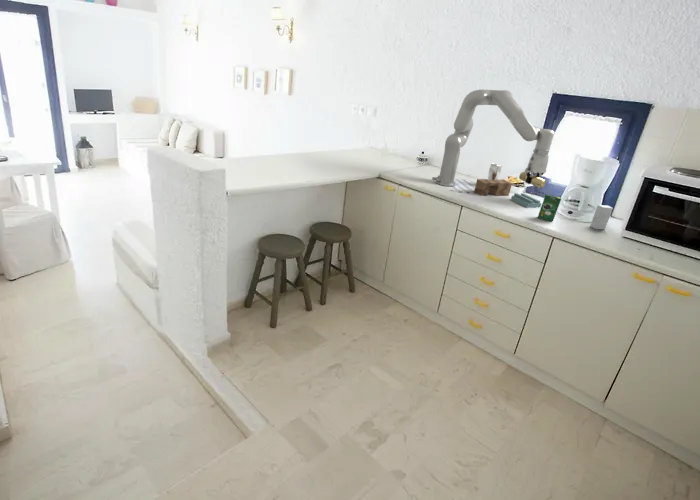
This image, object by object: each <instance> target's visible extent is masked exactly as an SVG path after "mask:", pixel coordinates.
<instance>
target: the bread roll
mask: <svg viewBox="0 0 700 500" xmlns="http://www.w3.org/2000/svg"><path fill="white" fill-rule="evenodd" d="M518 179H519V180H520V181H523V182H524V183H526V179H527V174H526V172H525V171H522V172H520V174H519V176H518ZM546 181H547V180H545V179H543V178H542V177H540V178H539V177H536V175H534V174H533V175H532V179H531V183H530V184H529V185H532V186H534V187H537V188H539V189H543V188H544V187H545V186H546V183H547V182H546Z"/></svg>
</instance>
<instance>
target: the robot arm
mask: <svg viewBox="0 0 700 500" xmlns="http://www.w3.org/2000/svg"><path fill="white" fill-rule="evenodd" d="M477 106H497V107H498V108H499V110H500V111H501V112H502V114H504V116H506V118H507V119H508V120H509V122H510V123H511V126H513V128H514V130H515V131H516V132H517V134H519V135H520V136H521V138H522V139H523V140H525V141H526V142H532V141H536V142H535V143H536V144H535V147H534V149H533V153H532V154H531V157H530V158H529V162H528V163H527V166H526V168H525V169H524V172H526V174H527V179H526V182H525V184H528V185H531V184H530V183H531V179H532V175H534V173H535V174H536V175H535V176H536V177H539V178H542V176H543V175H544V174H545V173H547V168H548V167H547V166H548V163H549V152H550V150H551V149H550V148H551V146H552V142H553V141H554V140H553V139H554V136H555V131H554V130H553V129H548V128H541V127H537V126H533V125H532V124H531V123H530V122H529V120H528V118H527V117H526V116H525V112H524V110H523V108H522V107H521V106H520V104H518V102H517V101H516V100H515V99H514V97H513V94H512V92H511V91H510V90H506V89H505V90H502V89H501V90H500V89H499V90H496V89H476V90H473V91H470V92H469V93H468V94H466V95H465V97H464V99H463V101H462V103H461V105H460V108H459V111H458V112H457V115H456V118H455V120H454V122H453V129H454V133H451V134H450V135H448V136H447V137H446V140H445V143H444V150H443V151H444V152H443V157H442V162H441V168H440V171H439V175H437V176H433V177H431V180H432V181H435V183H436V184H438V185H441V186H445V187H455V186H456V184H457V183H456V182H455V177H456V174H457V173H456V172H457V169H458V164H459V159H460V154H461V148H463V147H464V146H465V145H466V144H467V141H468V139H469V136H470V135H471V131H472V129H473V126H474V120H473V116H474V113H475V110H476V107H477Z"/></svg>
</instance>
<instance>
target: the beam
mask: <svg viewBox="0 0 700 500" xmlns="http://www.w3.org/2000/svg"><path fill="white" fill-rule="evenodd" d="M512 184H513V183H512V182H510V181H507V180H505V179H497V180H494V179H488V178H487V179H486V178H485V179H483V178H482V179H480V178H477V180H476V183H475V185H474V186H475V187H474V190H473V192H474V193H475V194H478V195H480V196H481V197H486V196H488V193H489V194H491V195H493V196H495V197H509V195H510V193H511V188H512Z"/></svg>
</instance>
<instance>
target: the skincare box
mask: <svg viewBox="0 0 700 500" xmlns="http://www.w3.org/2000/svg"><path fill="white" fill-rule="evenodd" d="M613 210H614V208H613V207H612V206H610V205H608V204H607V205H602V204H597V206H596V209H595V211H594V215H593V216H592V220H591V222H590V225H589V226H590V227H591V228H592V227H593V228H592V229H594V230H606V228H607V225H608V223H609V220H610V218H611V214H612V212H613Z"/></svg>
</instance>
